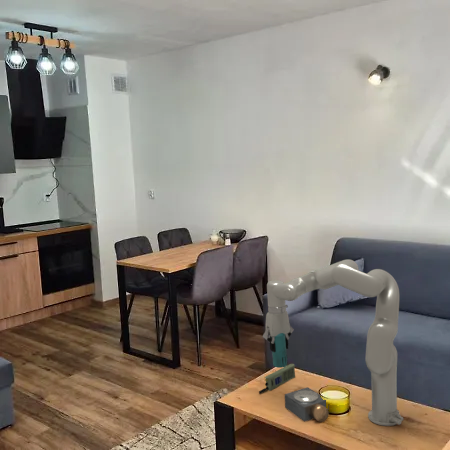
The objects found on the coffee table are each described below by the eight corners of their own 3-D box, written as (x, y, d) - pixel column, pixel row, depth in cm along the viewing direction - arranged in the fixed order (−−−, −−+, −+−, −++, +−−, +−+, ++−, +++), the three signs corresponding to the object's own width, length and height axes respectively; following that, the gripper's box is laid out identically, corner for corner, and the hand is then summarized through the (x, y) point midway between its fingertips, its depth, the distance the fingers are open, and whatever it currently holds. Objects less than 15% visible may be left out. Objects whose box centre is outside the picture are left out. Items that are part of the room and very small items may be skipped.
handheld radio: (296, 377, 246) (262, 396, 229) (291, 376, 248) (257, 394, 231) (295, 364, 246) (261, 381, 228) (290, 363, 248) (256, 380, 230)
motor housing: (334, 417, 206) (334, 402, 205) (310, 425, 201) (310, 410, 200) (308, 400, 222) (307, 386, 221) (285, 407, 217) (284, 393, 216)
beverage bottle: (283, 372, 218) (279, 327, 216) (270, 369, 223) (266, 325, 220) (290, 366, 224) (287, 322, 221) (277, 364, 228) (274, 320, 225)
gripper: (288, 303, 227) (290, 343, 229) (255, 311, 219) (257, 351, 222) (298, 307, 220) (300, 347, 223) (264, 315, 213) (267, 356, 215)
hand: (279, 349), depth 222 cm, fingers closed on beverage bottle, 5 cm apart
